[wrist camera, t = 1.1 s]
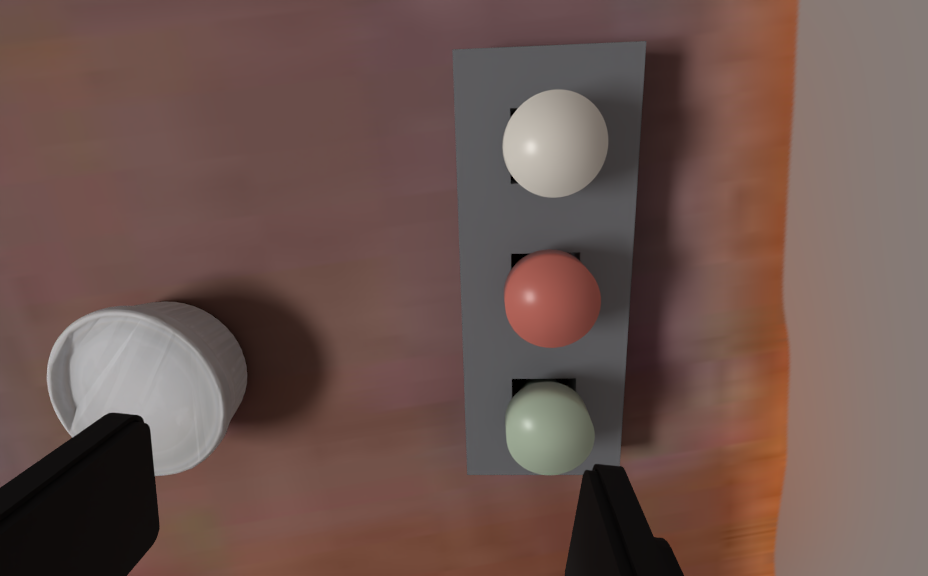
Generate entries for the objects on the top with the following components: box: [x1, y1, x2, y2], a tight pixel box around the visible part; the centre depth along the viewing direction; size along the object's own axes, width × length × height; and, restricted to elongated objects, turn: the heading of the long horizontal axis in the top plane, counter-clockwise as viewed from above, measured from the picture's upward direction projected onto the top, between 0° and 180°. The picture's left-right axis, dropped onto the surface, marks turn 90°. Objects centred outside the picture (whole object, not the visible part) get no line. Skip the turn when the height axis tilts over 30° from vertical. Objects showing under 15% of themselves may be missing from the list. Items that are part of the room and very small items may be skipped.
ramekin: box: [47, 301, 247, 476], centre depth 32 cm, size 11×11×5 cm
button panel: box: [453, 41, 646, 475], centre depth 30 cm, size 26×10×3 cm, turn 2°
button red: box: [504, 249, 601, 348], centre depth 28 cm, size 5×5×5 cm
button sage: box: [505, 379, 595, 475], centre depth 30 cm, size 5×5×5 cm
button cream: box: [502, 89, 608, 198], centre depth 26 cm, size 5×5×5 cm
